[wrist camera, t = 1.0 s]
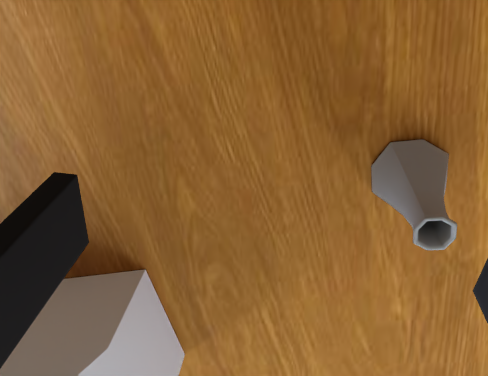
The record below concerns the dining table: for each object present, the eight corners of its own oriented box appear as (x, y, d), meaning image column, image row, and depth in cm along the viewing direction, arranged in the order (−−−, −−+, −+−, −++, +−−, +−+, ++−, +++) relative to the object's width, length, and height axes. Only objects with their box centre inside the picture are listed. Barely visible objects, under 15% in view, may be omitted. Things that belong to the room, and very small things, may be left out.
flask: (383, 130, 39) (404, 184, 31) (461, 145, 39) (505, 205, 31) (359, 195, 43) (373, 260, 35) (431, 210, 43) (462, 278, 34)
